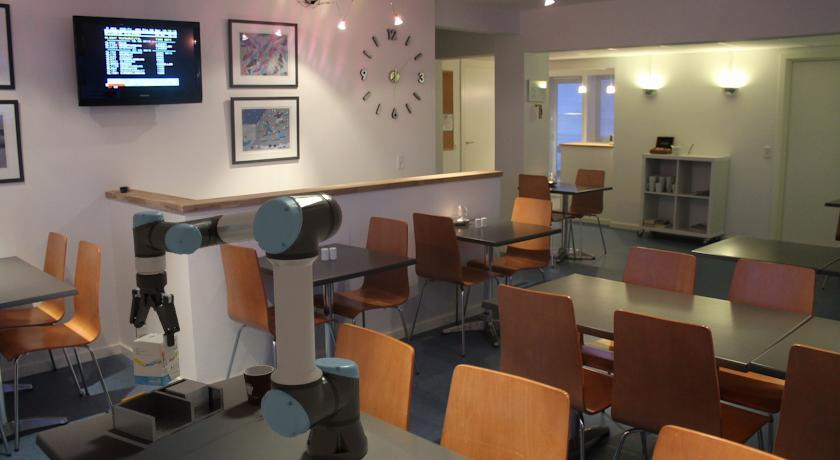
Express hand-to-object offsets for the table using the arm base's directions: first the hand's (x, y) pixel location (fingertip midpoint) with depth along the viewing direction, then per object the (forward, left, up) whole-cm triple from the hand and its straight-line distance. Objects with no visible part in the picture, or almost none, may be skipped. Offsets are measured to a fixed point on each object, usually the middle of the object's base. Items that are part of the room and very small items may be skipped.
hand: (156, 354), depth 193 cm
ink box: (0, 0, -7) cm, 7 cm away
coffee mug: (-12, -25, -21) cm, 35 cm away
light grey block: (+1, -11, -20) cm, 22 cm away
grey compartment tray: (+1, -4, -20) cm, 21 cm away
